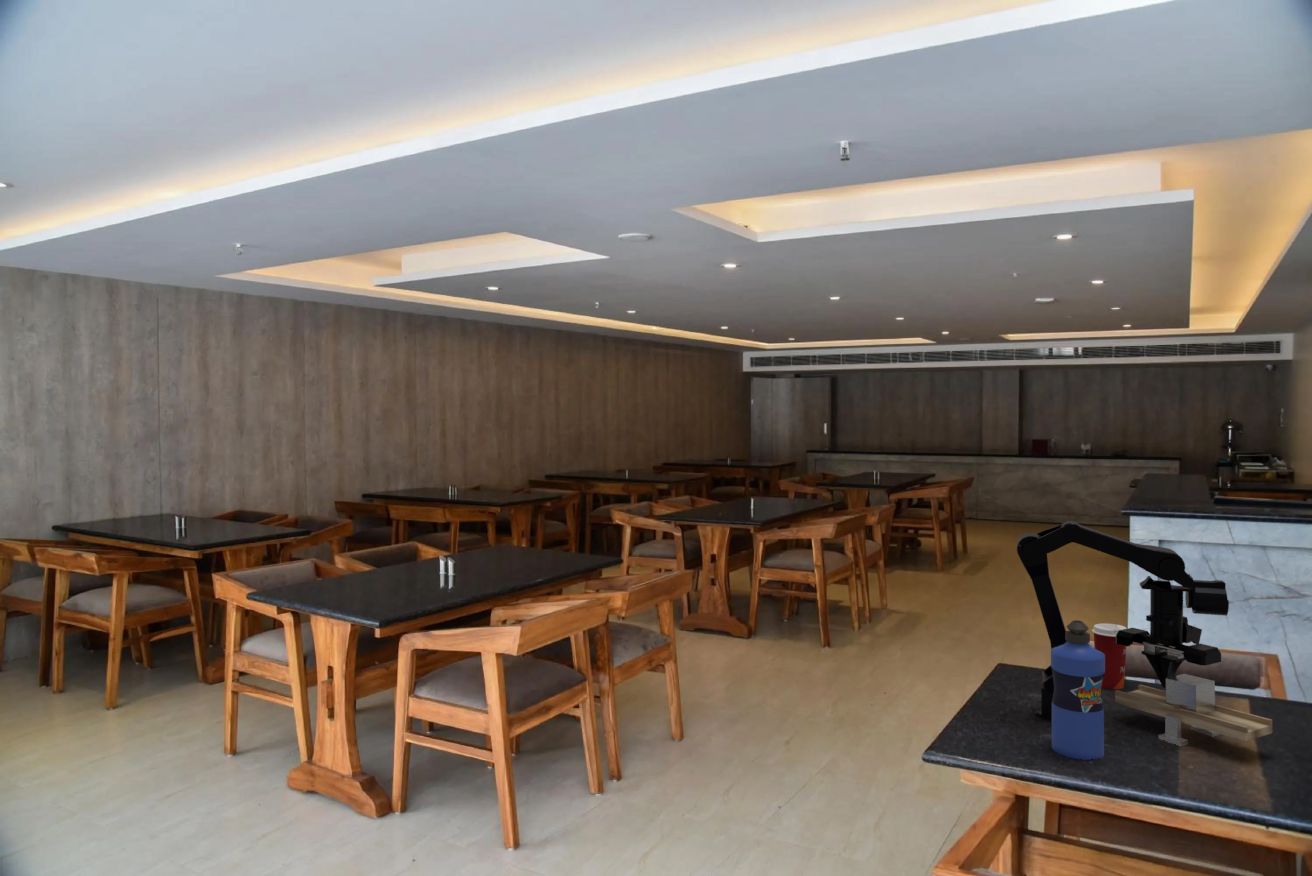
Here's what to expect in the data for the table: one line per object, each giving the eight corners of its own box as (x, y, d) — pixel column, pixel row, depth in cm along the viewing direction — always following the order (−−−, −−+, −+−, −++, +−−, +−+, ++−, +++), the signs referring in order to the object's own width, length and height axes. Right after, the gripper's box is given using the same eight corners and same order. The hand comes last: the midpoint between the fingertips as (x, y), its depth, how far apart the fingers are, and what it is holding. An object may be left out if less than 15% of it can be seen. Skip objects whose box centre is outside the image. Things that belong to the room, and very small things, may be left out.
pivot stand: (1180, 746, 167) (1180, 721, 167) (1158, 739, 171) (1158, 714, 171) (1219, 734, 173) (1219, 710, 173) (1197, 727, 177) (1197, 703, 177)
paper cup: (1135, 690, 200) (1135, 630, 199) (1101, 691, 200) (1101, 631, 200) (1118, 680, 208) (1118, 622, 207) (1085, 680, 208) (1085, 622, 207)
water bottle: (1116, 758, 163) (1116, 626, 162) (1070, 762, 161) (1071, 629, 160) (1083, 739, 172) (1083, 614, 171) (1040, 743, 170) (1040, 617, 169)
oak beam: (1245, 745, 158) (1245, 726, 158) (1115, 706, 182) (1114, 689, 182) (1272, 737, 162) (1272, 718, 162) (1141, 699, 186) (1140, 683, 185)
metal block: (1196, 716, 168) (1195, 685, 168) (1166, 708, 173) (1165, 678, 173) (1215, 711, 170) (1214, 681, 170) (1184, 703, 176) (1184, 673, 176)
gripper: (1238, 616, 171) (1237, 694, 171) (1148, 598, 187) (1147, 669, 188) (1203, 623, 166) (1203, 704, 166) (1114, 604, 182) (1113, 677, 183)
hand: (1166, 687), depth 176 cm, fingers closed
